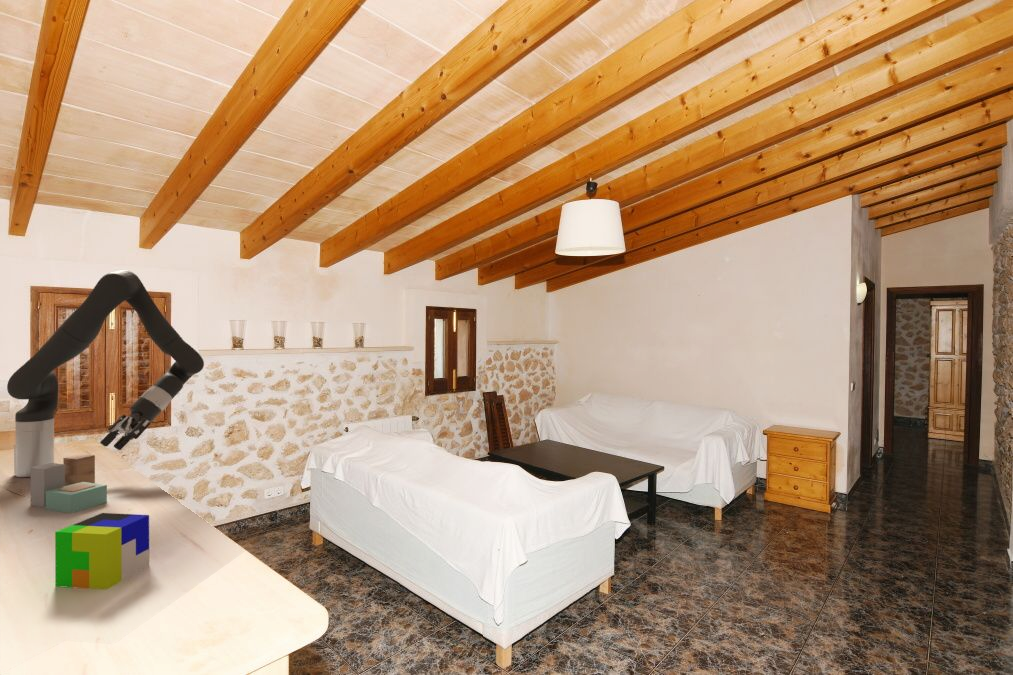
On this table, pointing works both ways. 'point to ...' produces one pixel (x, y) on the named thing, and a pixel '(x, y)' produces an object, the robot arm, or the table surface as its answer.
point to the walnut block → (79, 469)
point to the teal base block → (76, 497)
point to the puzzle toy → (101, 550)
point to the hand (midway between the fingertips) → (109, 446)
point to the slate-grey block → (45, 481)
